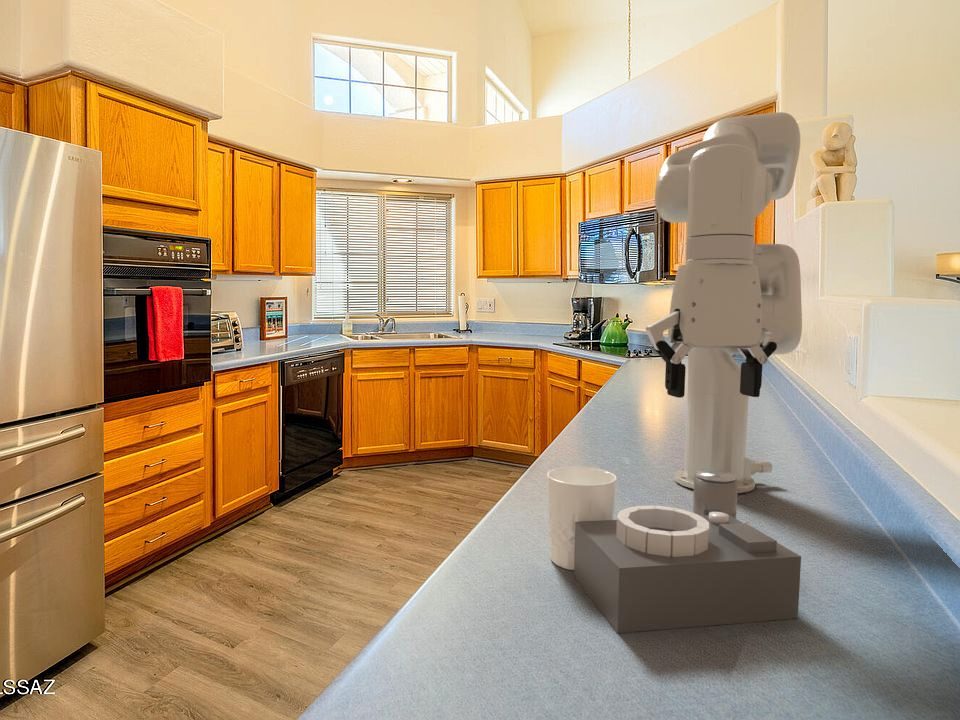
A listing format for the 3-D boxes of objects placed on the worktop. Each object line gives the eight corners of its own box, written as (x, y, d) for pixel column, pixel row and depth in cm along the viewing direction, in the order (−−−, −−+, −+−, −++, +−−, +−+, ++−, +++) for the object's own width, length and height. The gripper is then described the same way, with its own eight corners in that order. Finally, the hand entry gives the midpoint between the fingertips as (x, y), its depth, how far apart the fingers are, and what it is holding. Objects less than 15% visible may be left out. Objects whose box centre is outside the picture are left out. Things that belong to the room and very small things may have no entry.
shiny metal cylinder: (720, 536, 78) (723, 467, 78) (743, 551, 73) (746, 478, 73) (684, 538, 78) (686, 469, 77) (705, 554, 73) (708, 480, 72)
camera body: (725, 565, 69) (728, 496, 69) (797, 618, 57) (802, 535, 57) (573, 575, 66) (575, 503, 66) (617, 633, 54) (620, 546, 54)
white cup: (599, 581, 65) (601, 489, 64) (533, 564, 69) (535, 477, 68) (623, 556, 72) (626, 472, 71) (562, 542, 76) (564, 463, 75)
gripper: (766, 258, 78) (759, 391, 79) (637, 255, 75) (633, 392, 77) (805, 253, 71) (797, 399, 72) (664, 248, 68) (659, 400, 69)
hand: (712, 395), depth 74 cm, fingers open, 9 cm apart
